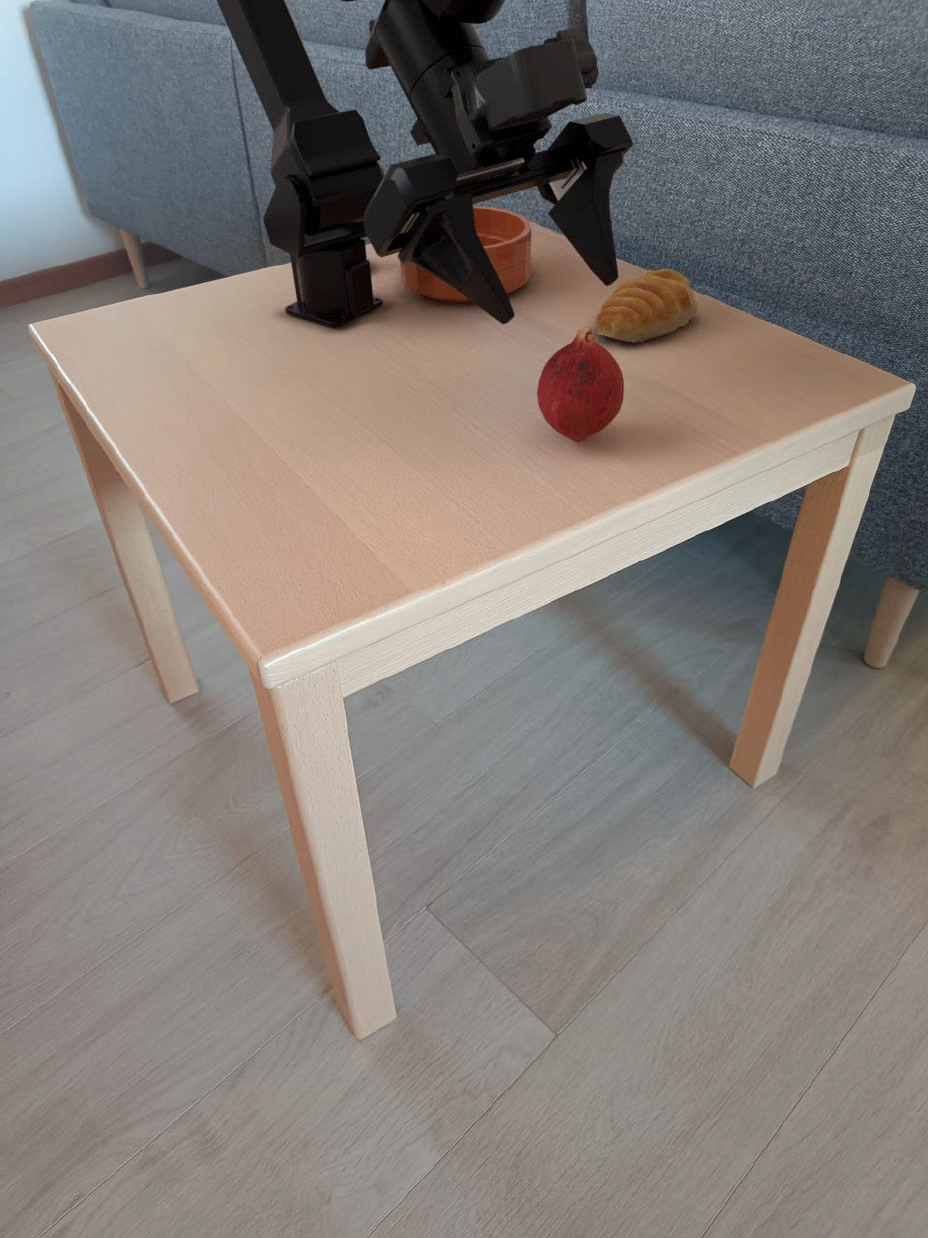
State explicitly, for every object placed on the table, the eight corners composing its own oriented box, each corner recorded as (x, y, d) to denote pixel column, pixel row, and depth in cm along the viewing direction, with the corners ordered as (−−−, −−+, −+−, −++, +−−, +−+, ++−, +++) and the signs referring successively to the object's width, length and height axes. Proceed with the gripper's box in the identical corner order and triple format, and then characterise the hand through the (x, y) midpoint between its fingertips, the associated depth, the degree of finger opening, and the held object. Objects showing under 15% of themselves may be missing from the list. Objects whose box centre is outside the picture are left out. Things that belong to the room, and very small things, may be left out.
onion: (615, 465, 60) (627, 352, 54) (530, 458, 61) (533, 346, 55) (621, 423, 64) (633, 314, 59) (542, 416, 65) (545, 309, 60)
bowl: (375, 288, 84) (370, 234, 81) (452, 250, 92) (450, 198, 88) (481, 316, 79) (480, 259, 75) (554, 273, 86) (556, 219, 83)
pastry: (643, 356, 72) (647, 309, 69) (574, 335, 75) (576, 290, 73) (701, 318, 77) (707, 273, 75) (634, 300, 81) (638, 257, 78)
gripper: (371, -6, 45) (514, 270, 46) (624, -39, 54) (742, 194, 54) (311, 139, 55) (429, 365, 56) (533, 91, 64) (634, 287, 64)
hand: (563, 300), depth 57 cm, fingers open, 9 cm apart
